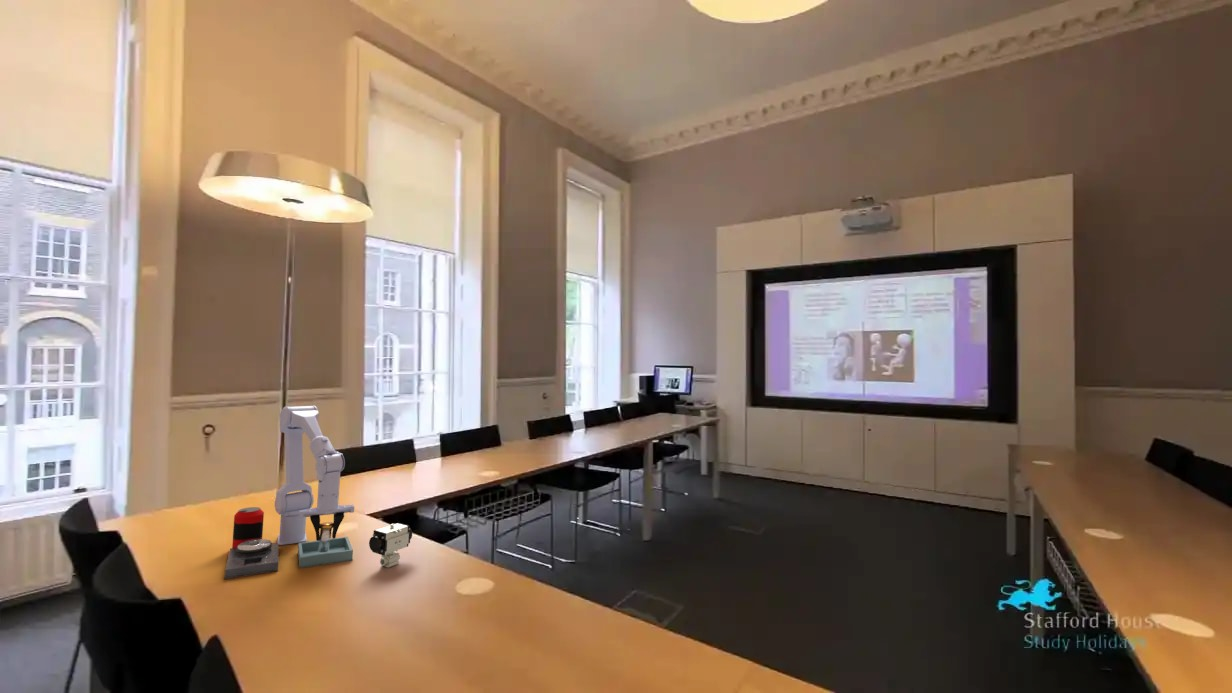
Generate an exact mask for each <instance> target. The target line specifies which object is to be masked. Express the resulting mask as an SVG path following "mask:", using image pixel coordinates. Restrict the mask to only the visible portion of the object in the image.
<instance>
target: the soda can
mask: <svg viewBox="0 0 1232 693" xmlns="http://www.w3.org/2000/svg"><path fill="white" fill-rule="evenodd" d="M264 515H265V512H264V511H263V510H262V509H261V507H258V506H252V507H244V508H240V509H239V510H238V511H237V512H236V513H235V514H234V517H233V527H232V528H233V532H232V544H231V545H232V546H231V548H237V546H238V545H239V544H241V543H243V542H246V541H250V540H253V539H263V534H264V533H263V532H264V518H265V517H264Z"/></svg>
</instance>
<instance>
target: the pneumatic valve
mask: <svg viewBox="0 0 1232 693" xmlns="http://www.w3.org/2000/svg"><path fill="white" fill-rule="evenodd" d="M412 537H413V530H412V529H411V527H410V525H408V524H404V523H400V522H397V523H390V525H388V526H385V527H384V526H383V527H382V528H377V529H375V530H373V534H372V536H371V538H369V543H368V545H369V549H370V551H371V552H372V553H374V554H377V555H381V558H380V560H379V564H380V566H382V567H386V568H388V569H389V568H392V567H394V566H397V565H398V564H399V563H400V558H401V555H400V552H398V551H399V550H401V549H404V548H407V547H409V544H411V539H412Z"/></svg>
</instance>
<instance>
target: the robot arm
mask: <svg viewBox="0 0 1232 693" xmlns="http://www.w3.org/2000/svg"><path fill="white" fill-rule="evenodd" d="M319 416H320V414H319V408H318V407H317V406H316V405H314V404H313V405H300V406H298V405H297V406H289V405H288V406H284V407H283V408H282V409H281V411H280V413H279V431H280V433H282V434H284V452H285V454H284V455H285V456H284V458H285V460H284V461H285V484H284V485H282V486H281V487H280V488H279V489H278V490H276V494H275V501H274V509H275V512H276V514H278V515H280V523H279V534H278V535H277V542H278V546H283V545H291V544H298V543H303V542H308V539H307V533H306V526H307V518H309V519H310V521H311V524H312V526H313V529H314V531H315V541H319V538H320V524H321V516H330V515H333V523H334V527H333V528H332V531H331V536H332V537H331V539H334V538H337V532H338V530H339V527H340V525H341V523H342V522H343V519H344V517H345V513H349V514H352V513H354V512H355V505H354V504H347V505H345V504H343V505H342V504H341V505H339V498H340V497H339V496H340V483H341V480H340V479H341V472H342V471H343V470H344V469H345V466H346V460H345V457H344V455H343V454H344V453H341V452H339V451H338V450H336V449H335V447H334V446H333V444H332V442H331V440H330V438H329V437H328V436H324V435H323V432H322V430H321V427H320V424H319ZM303 434H305V435H306V436H307V437H308V439H309V441H310V443H309V449H310V451H311V453H312V455H313V458H314V459H315V461H316V462H315V471H316V479H317V480H318V486H317V501H316V502H317V503H316V504H317V505H316V507H312V506H313V505H314V501H315V500H314V494H313V491H312V490H313V489H312V486H311V485H309V484H308V483H306V482H305V480H304V457H303V456H304V455H303V454H304V452H303Z"/></svg>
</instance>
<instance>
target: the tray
mask: <svg viewBox="0 0 1232 693" xmlns="http://www.w3.org/2000/svg"><path fill="white" fill-rule="evenodd" d="M318 545H319V541H317V540H311V541H306V542H300V543H297V557H298V558H297V559H298V567H299V569H306V568H311V567H312V568H313V567H316V566H324V564H325V565H331V563H332V564H337V563H343V562H351V561H353V557H354V556H353V554H354V553H353V552H354V549H353V547H352V544H351V541H350V539H349V537H348V536H341V537H335V538H334V539H333V538H331V539H330V546H329V551H328V552H318Z"/></svg>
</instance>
